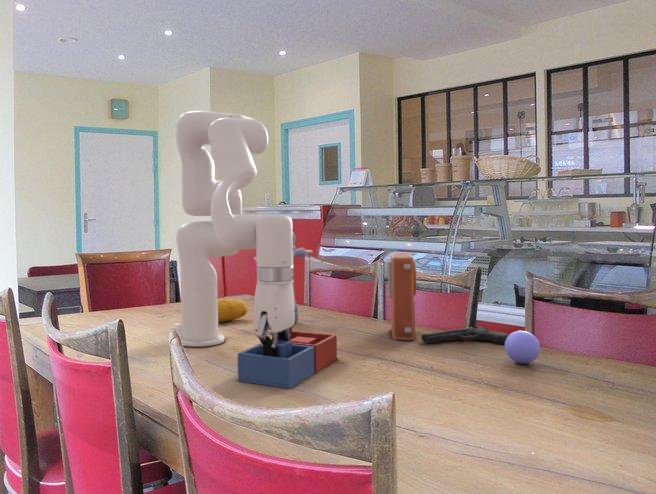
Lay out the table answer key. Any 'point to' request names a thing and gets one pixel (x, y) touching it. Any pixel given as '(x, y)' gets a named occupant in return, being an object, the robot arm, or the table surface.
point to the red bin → (320, 347)
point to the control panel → (402, 295)
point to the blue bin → (276, 366)
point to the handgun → (466, 335)
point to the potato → (231, 309)
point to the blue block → (283, 348)
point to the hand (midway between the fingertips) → (277, 363)
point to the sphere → (522, 347)
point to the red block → (304, 340)
